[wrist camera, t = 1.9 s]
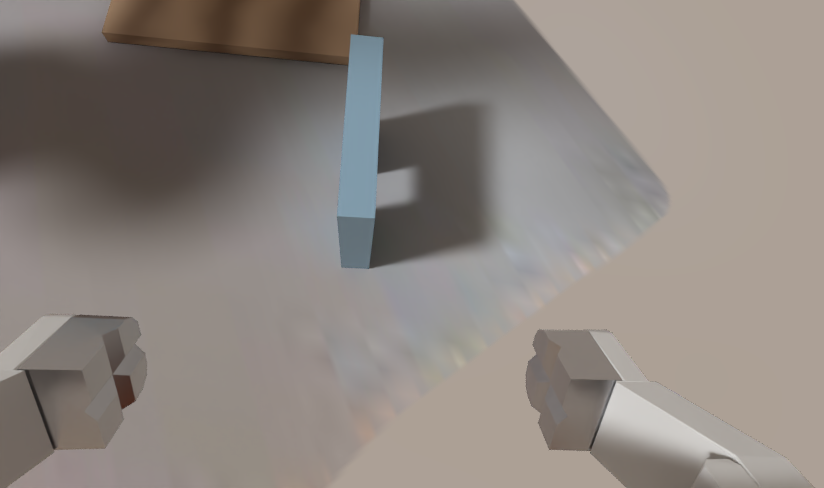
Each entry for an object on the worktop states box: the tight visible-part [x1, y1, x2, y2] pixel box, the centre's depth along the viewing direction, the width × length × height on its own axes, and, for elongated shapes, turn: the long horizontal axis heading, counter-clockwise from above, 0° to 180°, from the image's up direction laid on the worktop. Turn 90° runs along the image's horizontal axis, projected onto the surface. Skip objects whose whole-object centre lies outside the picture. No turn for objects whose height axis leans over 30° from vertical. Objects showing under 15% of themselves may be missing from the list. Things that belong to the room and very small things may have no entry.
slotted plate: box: [337, 34, 384, 269], centre depth 31 cm, size 12×2×10 cm, turn 179°
